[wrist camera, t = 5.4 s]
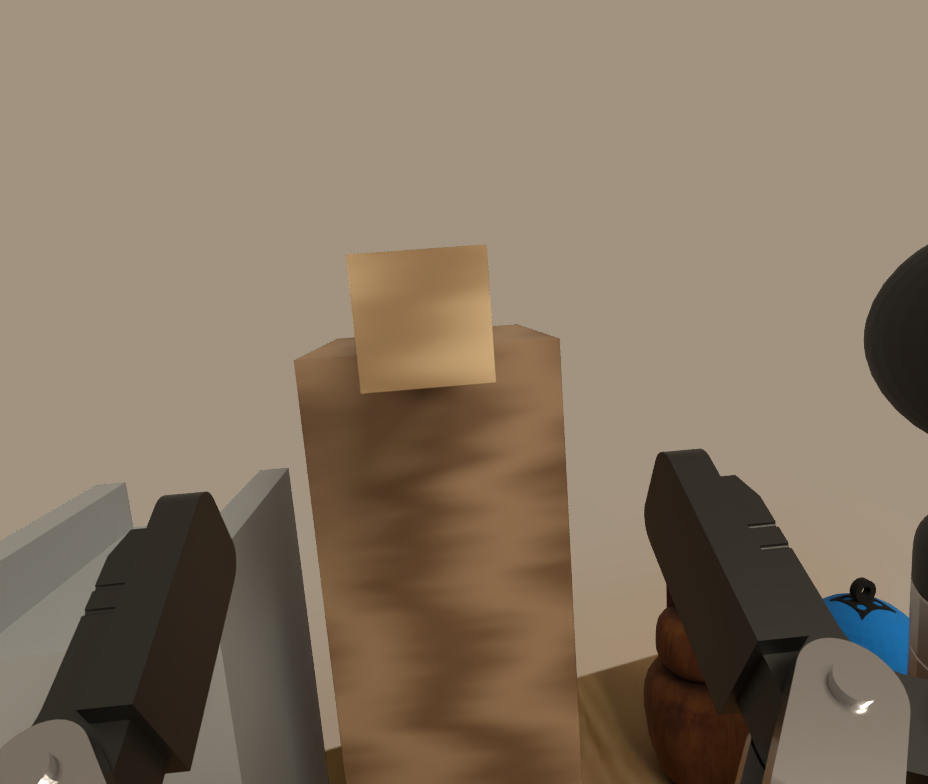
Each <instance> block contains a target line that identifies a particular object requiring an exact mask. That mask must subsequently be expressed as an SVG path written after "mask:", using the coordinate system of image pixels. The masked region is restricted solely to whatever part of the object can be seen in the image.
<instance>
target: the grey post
mask: <svg viewBox="0 0 928 784" xmlns="http://www.w3.org/2000/svg"><path fill="white" fill-rule="evenodd" d="M220 514H221V516H222V518H223V521H224V523H225V525H226V527H227V529H228V532H229V534H230V536H231V538H232V540H233V543H234V546H235V551H236V576H235V581H234V585H233V589H232V594H231V598H230V602H229V607H228V611H227V615H226V620H225V624H224V628H223V633H222V637H221V641H220V645H219V650H218V654H217V658H216V663H215V667H214V671H213V676H212V680H211V684H210V689H209V693H208V697H207V702H206V706H205V710H204V715H203V719H202V723H201V727H200V732H199V736H198V740H197V745H196V749H195V753H194V758H193V762H192V766H191V771H187V772H178V773H169V774H165V776H164V780H163V784H329V780H328V773H327V765H326V757H325V749H324V741H323V734H322V726H321V718H320V710H319V702H318V695H317V688H316V679H315V671H314V663H313V656H312V649H311V640H310V632H309V625H308V617H307V609H306V601H305V593H304V585H303V578H302V570H301V562H300V554H299V547H298V539H297V531H296V523H295V515H294V507H293V501H292V492H291V484H290V476H289V468H281V469H271V470H260V471H259V472H258V473H257V474H256V475H255V476H254V477H253V478H252V479H251V481H249V483H248V484H247V485H246V486H245V487H244V488H243V489H242V490H241V491H240V492H239V493H238V494H237V495H236V496H235V498H233V500H232V501H231V502H230V503H229V504H228V505H227V506H226V507H225V508H224V509H223V510H222V511H221V512H220ZM141 528H147V526H144V527H134V528H133V523H132V517H131V511H130V505H129V500H128V494H127V488H126V483H115V484H104V485H96V486H94V487H92V488H91V489H89V490H87V491H85V492H84V493H82V494H80V495H78V496H77V497H75V498H73V499H72V500H70V501H68V502H66V503H65V504H63V505H61V506H59V507H58V508H56V509H54V510H53V511H51V512H49V513H47V514H46V515H44V516H42V517H40V518H39V519H37V520H35V521H33V522H32V523H30V524H29V525H27V526H25V527H23V528H21V529H20V530H18V531H16V532H15V533H13V534H11V535H9V536H7V537H6V538H4V539H2V540H1V541H0V748H1V747H2V746H3V745H5V744H6V743H7V742H8V741H9V740H10V739H12V738H13V737H15V736H16V735H17V734H19V733H20V732H22V731H24V730H26V729H27V728H29V727H31V726H32V724H33V723H34V721H35V720H36V718H37V717H38V715H39V713H40V711H41V709H42V707H43V704H44V702H45V700H46V697H47V695H48V693H49V690H50V688H51V686H52V684H53V681H54V679H55V677H56V674H57V672H58V670H59V667H60V665H61V663H62V660H63V658H64V656H65V653H66V651H67V649H68V646H69V644H70V642H71V640H72V637H73V635H74V633H75V630H76V628H77V626H78V623H79V621H80V619H81V616H84V615H85V610H84V609H85V607H86V605H87V603H88V600H89V598H90V596H91V593H92V591H95V584H96V582H97V579H98V577H99V575H100V572H101V570H102V568H103V565H104V563H105V561H106V559H107V556H108V555H109V554H110V553H111V552H112V550H113V549H114V548H115V547H116V546H117V545H118V544H119V542H120V541H121V540H122V539H123V538H124V537H125V536H126V534H127V533H128V532H129V531H130V530H131V529H141Z"/></svg>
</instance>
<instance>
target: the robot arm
mask: <svg viewBox="0 0 928 784" xmlns="http://www.w3.org/2000/svg"><path fill="white" fill-rule="evenodd" d="M864 349H865V355H866V359H867V362H868V365H869V368H870V371H871V374H872V377H873V378H874V380H875V382H876V383H877V385H878V387H879V389H880V390H881V392H882V393H883V395H884V396H885V397H886V398H887V400H888V401H889V402H890V403H891V404H892V405H893V406H894V408H895V409H896V410H897V411H898V412H899V413H900V414H902V415H903V416H904V417H905V418H906V419H908V420H909V421H910V422H911V423H912V424H913V425H915V426H916V427H918V428H919V429H921V430H923V431H924V432H926V433H927V434H928V245H926V246H925V247H923V248H921V249H920V250H918V251H917V252H916V253H915V254H913V255H912V256H910V257H909V258H908V259H907V260H906V261H905V262H904V263H902V264H901V265H900V266H899V267H898V268H897V269H896V270H895V272H894V273H893V274H892V275H891V276H890V277H889V278H888V279H887V281H886V282H885V283H884V284H883V286H882V288H881V289H880V291H879V293H878V294H877V296H876V298H875V299H874V301H873V303H872V306H871V309H870V311H869V314H868V317H867V320H866V324H865V330H864ZM644 517H645V526H646V531H647V535H648V538H649V541H650V543H651V546H652V548H653V551H654V554H655V556H656V559H657V561H658V564H659V566H660V568H661V571H662V573H663V576H664V579H665V581H666V584H667V586H668V589H669V592H670V594H671V597H672V599H673V602H674V604H675V607H676V609H677V612H678V614H679V617H680V619H681V622H682V625H683V627H684V630H685V632H686V635H687V637H688V640H689V642H690V645H691V647H692V650H693V652H694V655H695V657H696V660H697V663H698V665H699V668H700V670H701V673H702V675H703V678H704V680H705V683H706V685H707V688H708V690H709V693H710V695H711V698H712V701H713V703H714V706H715V708H716V711H717V713H718V715H724V714H733V713H741V714H742V716H743V719H744V721H745V723H746V726H747V728H748V730H749V733H748V736H747V738H746V742H745V746H744V750H743V754H742V757H741V761H740V765H739V769H738V773H737V777H736V781H735V784H928V515H927V516H926V517H925V518H924V519H923V520H922V521H921V522H920V524H919V526H918V528H917V530H916V533H915V536H914V541H913V552H912V553H913V554H912V573H911V592H910V613H909V640H908V661H907V675H904V674H901V673H898V672H896V671H893V670H892V669H891V668H890V667H889V666H888V665H887V664H886V663H885V662H884V661H883V660H881V659H880V658H879V657H878V656H877V655H875V654H874V653H872V652H871V651H869V650H868V649H866V648H864V647H862V646H860V645H858V644H855V643H853V642H851V641H850V640H849V639H848V638H847V636H846V635H845V634H844V633H843V631H842V630H841V628H840V627H839V625H838V624H837V622H836V620H835V619H834V617H833V616H832V614H831V612H830V611H829V609H828V607H827V606H826V604H825V602H824V601H823V599H822V597H821V596H820V594H819V593H818V591H817V589H816V588H815V586H814V584H813V583H812V581H811V579H810V578H809V576H808V575H807V573H806V571H805V570H804V568H803V566H802V564H801V563H800V561H799V560H798V558H797V556H796V555H795V553H794V551H793V550H792V548H789V546H788V541H787V540H786V538H785V536H784V535H783V533H782V532H781V530H780V528H779V527H776V525H775V520H774V518H773V517H772V515H771V514H770V512H769V510H768V508H767V507H766V505H765V504H764V502H763V500H762V499H761V497H760V496H759V495H758V494H757V493H756V492H755V491H753V490H752V489H751V488H750V487H749V486H747V485H746V484H745V483H744V482H743V481H742V480H740V479H739V478H738V477H737V476H736V475H732V476H720V475H719V473H718V471H717V469H716V467H715V466H714V464H713V462H712V460H711V459H710V457H709V455H708V454H707V453H706V452H705V451H704V450H703V449H691V450H680V451H670V452H660V453H659V454H658V455H657V457H656V461H655V465H654V469H653V474H652V478H651V482H650V486H649V490H648V495H647V499H646V503H645V510H644ZM235 576H236V551H235V546H234V543H233V540H232V538H231V536H230V534H229V532H228V529H227V527H226V525H225V523H224V521H223V518H222V516H221V514H220V512H219V510H218V507H217V505H216V503H215V501H214V499H213V497H212V495H211V494H210V493H209V492H198V493H188V494H176V495H165V496H162V497H161V498H160V499H159V500H158V501H157V503H156V505H155V507H154V510H153V512H152V515H151V518H150V520H149V523H148V525H147V528H141V529H131V530H130V531H129V532H128V533H127V534H126V536H125V537H124V538H123V539H122V540H121V541H120V542H119V544H118V545H117V546H116V547H115V548H114V549H113V550H112V552H111V553H110V554H109V555H108V556H107V559H106V561H105V563H104V565H103V568H102V570H101V572H100V575H99V577H98V579H97V582H96V584H95V591H92V593H91V596H90V598H89V600H88V603H87V605H86V607H85V609H84V610H85V615H84V616H81V619H80V621H79V623H78V626H77V628H76V630H75V633H74V635H73V637H72V640H71V642H70V644H69V646H68V649H67V651H66V653H65V656H64V658H63V660H62V663H61V665H60V667H59V670H58V672H57V674H56V677H55V679H54V681H53V684H52V686H51V688H50V690H49V693H48V695H47V697H46V700H45V702H44V704H43V707H42V709H41V711H40V713H39V715H38V717H37V718H36V720H35V721H34V723H33V724H32V726H31V727H29V728H27V729H26V730H24V731H22V732H20V733H19V734H17V735H16V736H15V737H13V738H12V739H10V740H9V741H8V742H7V743H6V744H5V745H3V746H2V747H1V748H0V784H163V780H164V776H165V774H169V773H178V772H187V771H191V766H192V762H193V758H194V753H195V749H196V745H197V740H198V736H199V732H200V727H201V723H202V719H203V715H204V710H205V706H206V702H207V697H208V693H209V689H210V684H211V680H212V676H213V671H214V667H215V663H216V658H217V654H218V650H219V645H220V641H221V637H222V633H223V628H224V624H225V620H226V615H227V611H228V607H229V602H230V598H231V594H232V589H233V585H234V581H235Z"/></svg>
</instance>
